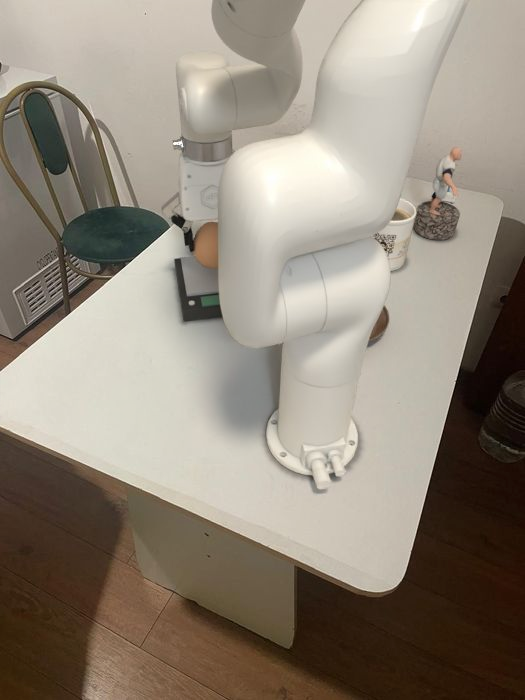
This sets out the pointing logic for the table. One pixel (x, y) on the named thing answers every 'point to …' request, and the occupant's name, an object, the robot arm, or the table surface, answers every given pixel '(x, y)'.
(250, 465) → the table surface
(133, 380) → the table surface
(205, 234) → the egg
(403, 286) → the table surface
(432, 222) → the figurine
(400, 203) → the mug
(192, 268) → the scale
